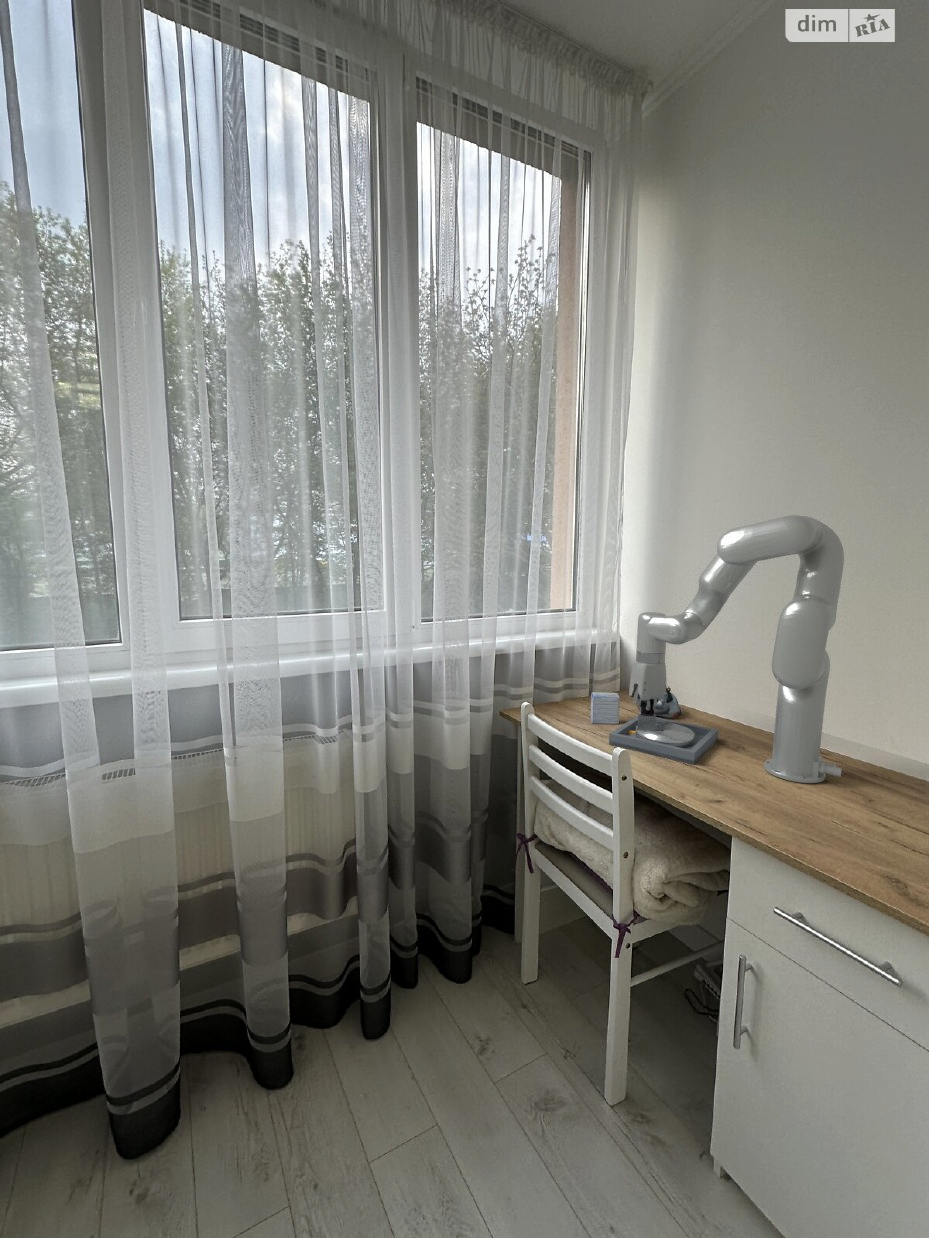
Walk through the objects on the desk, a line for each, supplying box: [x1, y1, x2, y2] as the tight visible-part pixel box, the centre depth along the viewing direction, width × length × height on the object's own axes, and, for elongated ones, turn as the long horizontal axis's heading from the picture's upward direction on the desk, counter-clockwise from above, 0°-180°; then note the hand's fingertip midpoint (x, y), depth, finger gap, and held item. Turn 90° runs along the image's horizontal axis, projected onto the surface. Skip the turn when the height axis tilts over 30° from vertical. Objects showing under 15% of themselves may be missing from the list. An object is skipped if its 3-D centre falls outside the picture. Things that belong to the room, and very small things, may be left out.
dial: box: [635, 713, 694, 748], centre depth 152 cm, size 15×15×6 cm
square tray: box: [608, 715, 719, 766], centre depth 153 cm, size 22×22×3 cm
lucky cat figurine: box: [637, 685, 684, 720], centre depth 176 cm, size 15×12×14 cm
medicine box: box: [590, 691, 621, 725], centre depth 169 cm, size 8×4×9 cm, turn 84°
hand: (646, 722), depth 156 cm, fingers closed
